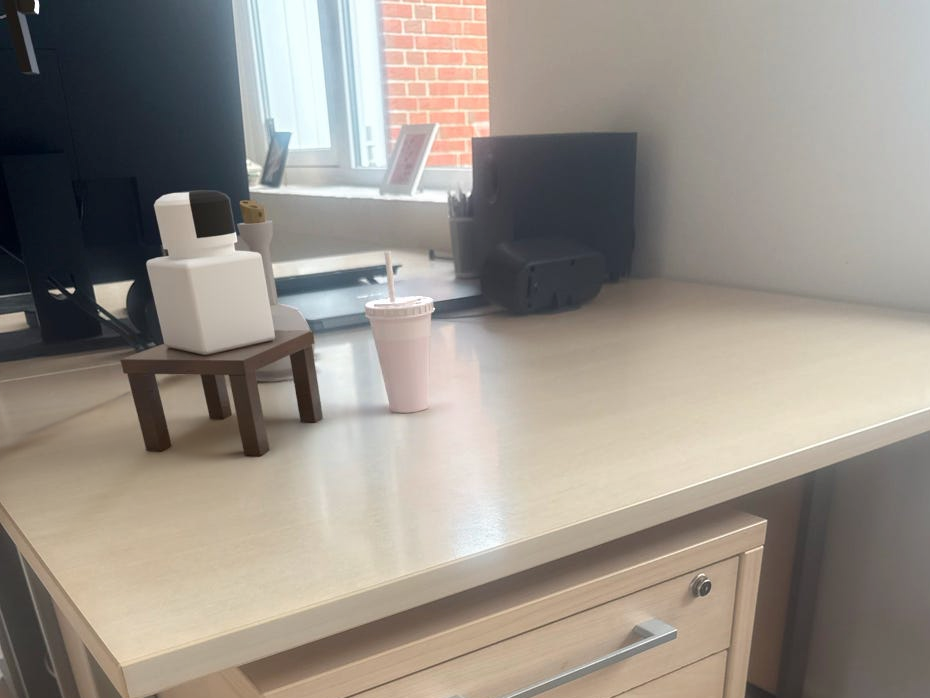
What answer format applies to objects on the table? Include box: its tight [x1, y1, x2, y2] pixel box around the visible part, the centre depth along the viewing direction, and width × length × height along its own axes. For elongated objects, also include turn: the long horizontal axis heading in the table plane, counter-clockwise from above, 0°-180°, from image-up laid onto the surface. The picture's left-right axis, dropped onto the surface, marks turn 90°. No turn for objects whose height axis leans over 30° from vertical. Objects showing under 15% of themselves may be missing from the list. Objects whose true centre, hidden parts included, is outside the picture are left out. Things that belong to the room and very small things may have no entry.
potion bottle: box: [236, 199, 316, 383], centre depth 99 cm, size 9×9×18 cm
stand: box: [119, 329, 324, 457], centre depth 81 cm, size 12×12×8 cm
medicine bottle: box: [145, 189, 275, 355], centre depth 76 cm, size 7×7×12 cm
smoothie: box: [364, 250, 436, 414], centre depth 84 cm, size 6×6×14 cm
